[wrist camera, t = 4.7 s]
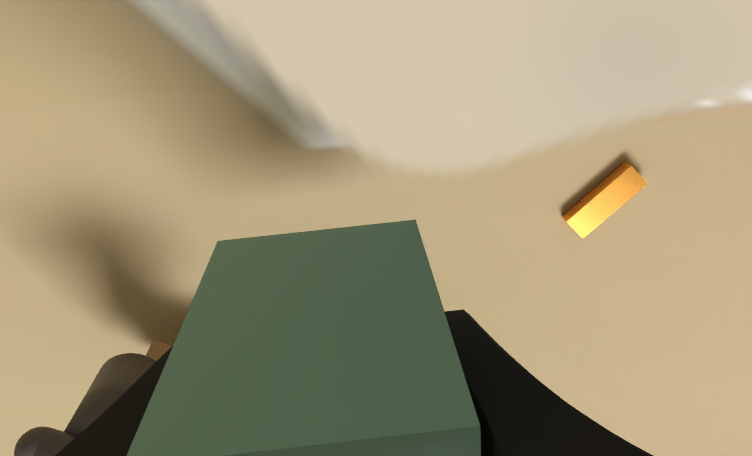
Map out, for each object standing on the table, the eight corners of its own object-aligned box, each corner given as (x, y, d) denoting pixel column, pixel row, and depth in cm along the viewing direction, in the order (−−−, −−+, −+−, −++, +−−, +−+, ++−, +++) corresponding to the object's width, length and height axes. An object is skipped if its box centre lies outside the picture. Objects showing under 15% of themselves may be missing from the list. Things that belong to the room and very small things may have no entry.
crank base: (358, 469, 22) (358, 483, 21) (273, 410, 21) (271, 422, 20) (671, 213, 19) (681, 221, 18) (592, 124, 17) (601, 129, 17)
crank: (447, 395, 20) (479, 519, 15) (389, 490, 21) (403, 628, 17) (107, 277, 17) (28, 385, 13) (68, 394, 19) (-14, 525, 14)
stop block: (251, 400, 14) (197, 687, 8) (217, 240, 12) (121, 467, 7) (426, 380, 14) (486, 652, 8) (415, 219, 12) (479, 426, 7)
